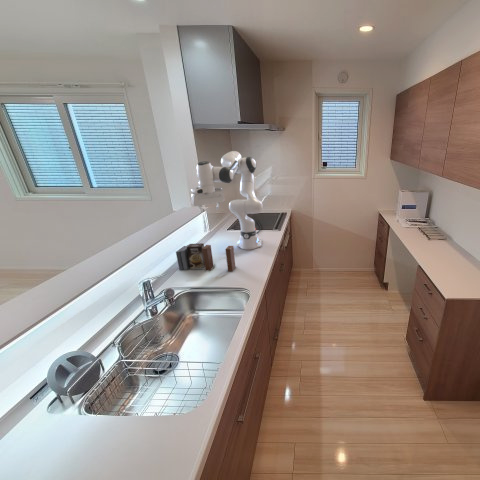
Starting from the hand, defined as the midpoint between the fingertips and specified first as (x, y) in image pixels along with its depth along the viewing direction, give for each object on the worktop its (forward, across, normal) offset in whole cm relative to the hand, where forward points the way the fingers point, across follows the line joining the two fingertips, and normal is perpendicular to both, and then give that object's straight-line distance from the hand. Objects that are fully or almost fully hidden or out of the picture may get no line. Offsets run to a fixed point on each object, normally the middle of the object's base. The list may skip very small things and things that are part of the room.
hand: (210, 210), depth 158 cm
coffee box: (+39, +10, -6) cm, 41 cm away
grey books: (+39, +15, -12) cm, 43 cm away
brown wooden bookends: (+39, +1, +7) cm, 39 cm away
